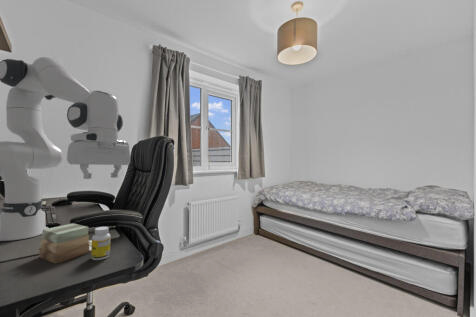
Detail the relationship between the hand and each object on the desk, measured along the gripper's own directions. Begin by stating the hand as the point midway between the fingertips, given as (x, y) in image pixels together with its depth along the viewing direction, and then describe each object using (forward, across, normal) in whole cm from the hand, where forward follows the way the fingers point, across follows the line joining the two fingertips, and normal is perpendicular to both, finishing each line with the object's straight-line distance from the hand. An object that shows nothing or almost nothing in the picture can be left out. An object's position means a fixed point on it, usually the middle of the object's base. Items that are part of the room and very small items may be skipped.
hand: (101, 178), depth 75 cm
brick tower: (+26, +4, -12) cm, 29 cm away
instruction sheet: (+26, -5, -12) cm, 30 cm away
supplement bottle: (+27, 0, 0) cm, 27 cm away
